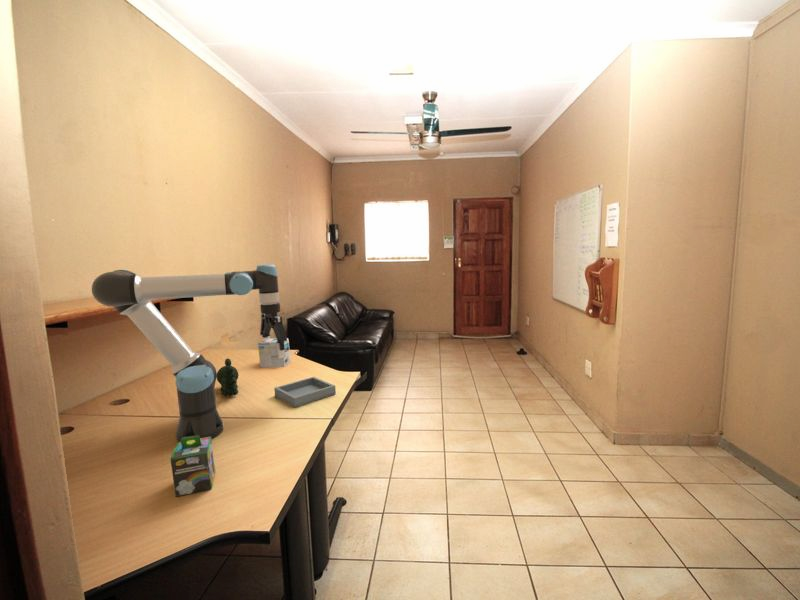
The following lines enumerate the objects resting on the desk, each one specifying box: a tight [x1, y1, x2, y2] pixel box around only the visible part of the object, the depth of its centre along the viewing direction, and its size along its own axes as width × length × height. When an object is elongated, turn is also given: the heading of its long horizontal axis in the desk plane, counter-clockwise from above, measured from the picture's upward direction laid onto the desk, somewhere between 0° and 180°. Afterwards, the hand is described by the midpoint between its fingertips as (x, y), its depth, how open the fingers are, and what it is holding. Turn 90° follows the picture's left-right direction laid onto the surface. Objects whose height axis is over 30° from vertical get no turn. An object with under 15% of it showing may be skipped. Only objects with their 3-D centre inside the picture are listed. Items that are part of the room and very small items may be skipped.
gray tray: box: [274, 376, 336, 408], centre depth 173 cm, size 20×18×4 cm
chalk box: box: [170, 435, 216, 498], centre depth 108 cm, size 9×9×15 cm
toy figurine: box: [216, 357, 239, 397], centre depth 179 cm, size 9×19×25 cm
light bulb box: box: [257, 337, 292, 368], centre depth 160 cm, size 11×7×11 cm, turn 83°
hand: (274, 355), depth 160 cm, fingers closed on light bulb box, 12 cm apart
